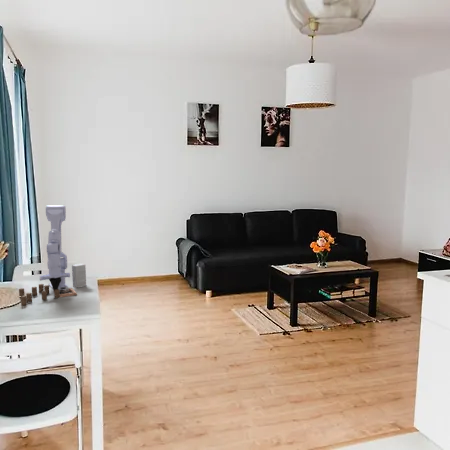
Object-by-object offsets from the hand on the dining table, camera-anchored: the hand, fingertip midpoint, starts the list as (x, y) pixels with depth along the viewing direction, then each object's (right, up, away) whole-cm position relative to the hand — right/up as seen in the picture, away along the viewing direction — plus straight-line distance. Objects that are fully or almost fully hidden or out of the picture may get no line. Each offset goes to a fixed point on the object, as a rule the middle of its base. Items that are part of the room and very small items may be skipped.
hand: (55, 292), depth 242 cm
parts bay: (+4, -1, +2) cm, 4 cm away
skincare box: (+7, +1, +17) cm, 18 cm away
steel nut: (+3, -1, +2) cm, 4 cm away
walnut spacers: (-8, -2, -5) cm, 10 cm away
